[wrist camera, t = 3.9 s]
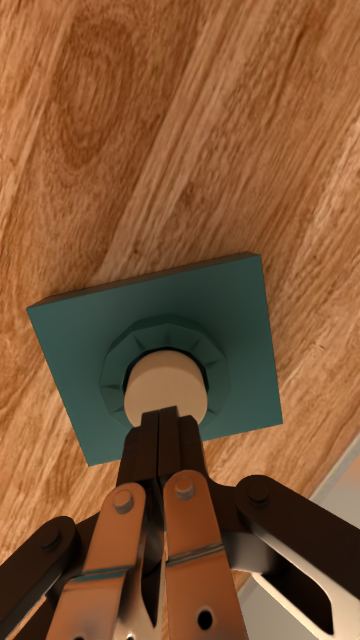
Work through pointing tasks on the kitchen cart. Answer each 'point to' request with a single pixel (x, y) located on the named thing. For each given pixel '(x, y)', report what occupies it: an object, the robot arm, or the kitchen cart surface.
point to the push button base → (163, 347)
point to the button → (165, 386)
